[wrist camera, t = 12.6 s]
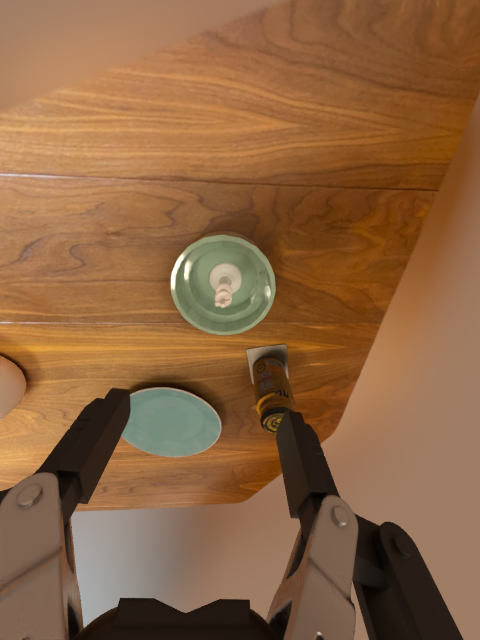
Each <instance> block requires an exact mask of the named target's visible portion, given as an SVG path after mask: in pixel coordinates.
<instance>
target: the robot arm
mask: <svg viewBox="0 0 480 640" xmlns="http://www.w3.org/2000/svg"><path fill="white" fill-rule="evenodd" d="M130 412H131V404H130V390H126V389H118V388H112V389H111V390H110V391H109V392H108V394H107V395H106V397H105V398H104V399H101V398H96V399H95V400H94V401H92V402H91V403H90V404H88V405H87V406H86V407H85V408H84V409H83V411H82V412H81V413H80V415H79V416H78V417H77V420H75V421H74V423H73V424H72V425H71V427H70V429H68V431H67V432H66V433H65V435H64V436H63V437H62V439H61V440H60V441H59V443H58V444H57V445H56V447H55V448H54V449H53V451H52V452H51V453H50V455H49V456H48V457H47V459H46V460H45V461H44V463H43V464H42V465H41V467H40V468H39V469H38V470H37V471H36V472H35V473H34V474H33V475H32V476H29V477H27V478H25V479H24V480H22V481H21V482H19V483H18V484H17V485H15V486H14V487H12V488H9V489H7V490H3V491H0V640H354V632H355V622H356V612H355V607H354V604H353V603H352V601H351V597H350V592H351V585H352V581H353V584H354V588H355V591H356V595H357V598H358V602H359V606H360V609H361V613H362V616H363V620H364V623H365V627H366V630H367V634H368V637H369V640H463V638H462V636H461V634H460V632H459V630H458V628H457V626H456V624H455V622H454V620H453V618H452V616H451V614H450V612H449V610H448V608H447V606H446V604H445V602H444V600H443V598H442V596H441V594H440V592H439V590H438V588H437V586H436V584H435V582H434V580H433V578H432V576H431V574H430V572H429V570H428V568H427V566H426V564H425V562H424V560H423V558H422V556H421V554H420V552H419V550H418V548H417V547H416V545H415V543H414V542H413V540H412V539H411V538H410V536H409V535H408V534H407V533H406V532H405V531H404V530H403V529H402V528H401V527H399V526H398V525H396V524H394V523H391V522H384V523H383V524H381V525H380V526H379V525H376V524H374V523H372V522H370V521H368V520H366V519H364V518H362V517H360V516H358V515H356V514H355V513H354V512H353V511H352V509H351V508H350V506H349V505H348V504H347V503H346V502H345V501H344V500H343V499H341V497H340V496H339V494H338V491H337V489H336V486H335V483H334V480H333V478H332V475H331V472H330V469H329V467H328V464H327V461H326V458H325V456H324V453H323V450H322V448H321V445H320V442H319V439H318V436H317V434H316V433H315V431H314V430H313V429H312V427H311V426H310V425H309V424H305V423H304V420H303V417H302V414H301V413H300V412H293V411H285V413H284V415H283V417H282V419H281V421H280V423H279V426H278V428H277V432H276V440H277V446H278V451H279V456H280V462H281V467H282V473H283V478H284V484H285V489H286V495H287V500H288V506H289V511H290V516H291V518H299V520H300V524H301V528H300V530H299V532H298V535H297V538H296V541H295V544H294V547H293V550H292V553H291V556H290V559H289V562H288V565H287V568H286V571H285V574H284V577H283V579H282V582H281V584H280V586H279V588H278V590H277V592H276V594H275V596H274V598H273V601H272V603H271V606H270V609H269V612H268V615H267V618H266V621H265V620H264V619H263V618H262V617H261V616H260V615H259V614H257V613H256V612H255V611H253V610H251V609H250V600H236V599H235V600H234V599H219V600H217V601H214V602H212V603H210V604H208V605H205V606H202V607H200V608H198V609H195V610H193V611H191V612H188V613H183V612H181V611H179V610H177V609H175V608H173V607H171V606H168V605H166V604H164V603H162V602H160V601H158V600H156V599H154V598H120V601H119V604H118V607H115V608H113V609H111V610H109V611H107V612H105V613H104V614H102V615H100V616H99V617H98V618H96V619H95V620H93V621H92V622H91V623H90V624H89V625H87V626H86V627H85V628H84V627H83V617H82V608H81V599H80V592H79V586H78V582H77V576H76V567H75V557H74V547H73V536H72V527H71V516H72V514H73V512H74V510H75V508H76V506H77V504H78V503H82V504H88V502H89V500H90V498H91V496H92V494H93V492H94V490H95V488H96V486H97V484H98V482H99V479H100V477H101V475H102V473H103V471H104V469H105V467H106V465H107V463H108V461H109V459H110V457H111V455H112V453H113V451H114V449H115V447H116V445H117V443H118V441H119V439H120V437H121V435H122V433H123V431H124V429H125V427H126V425H127V423H128V420H129V417H130Z"/></svg>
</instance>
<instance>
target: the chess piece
mask: <svg viewBox="0 0 480 640" xmlns="http://www.w3.org/2000/svg"><path fill="white" fill-rule="evenodd" d="M209 282H210V285H211V287H212V288H213V290H214V291H216V295H215V305H216V307H217V306H221V308H224V307H225V306H228V305H229V304H231V301H232V294H233V293H235V292H236V291H237V290H238V289H239V288H240V286H241V283H242V274H241V271H240V270H239V268H238V267H237V266H236V265H234V264H232V263H230V262H221V263H218V264H216V265H215V266H214V267H213V268H212V269H211V271H210V274H209Z"/></svg>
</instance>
